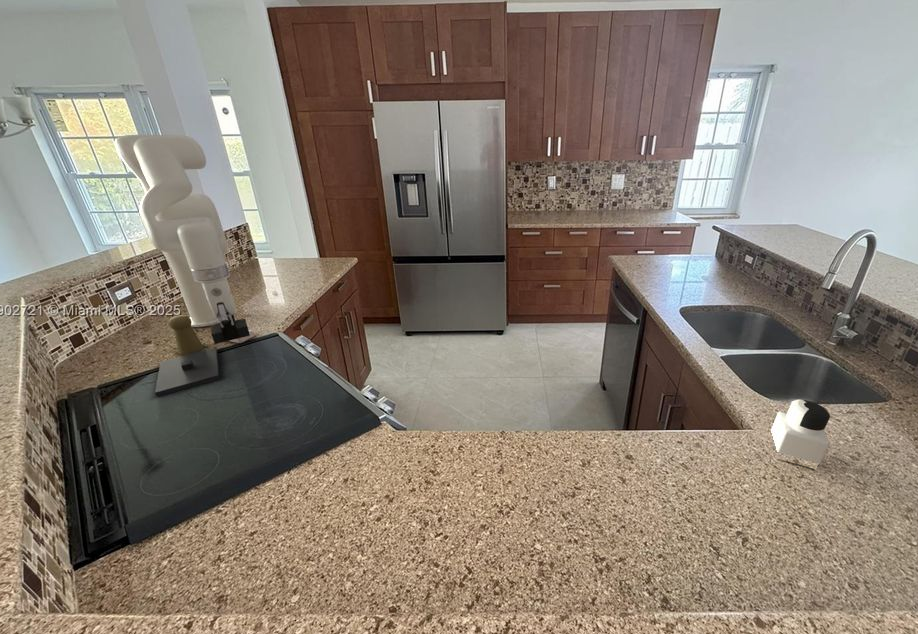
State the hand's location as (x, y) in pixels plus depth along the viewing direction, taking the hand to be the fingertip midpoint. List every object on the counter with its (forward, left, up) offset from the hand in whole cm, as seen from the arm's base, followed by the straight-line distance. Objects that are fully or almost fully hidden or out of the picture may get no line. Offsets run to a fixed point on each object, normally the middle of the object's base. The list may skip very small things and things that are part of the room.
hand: (231, 333), depth 102 cm
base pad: (-4, -12, -10) cm, 16 cm away
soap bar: (-19, 0, -10) cm, 21 cm away
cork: (-19, -12, -10) cm, 24 cm away
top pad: (0, 0, -1) cm, 1 cm away
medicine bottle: (+107, +89, -10) cm, 139 cm away
